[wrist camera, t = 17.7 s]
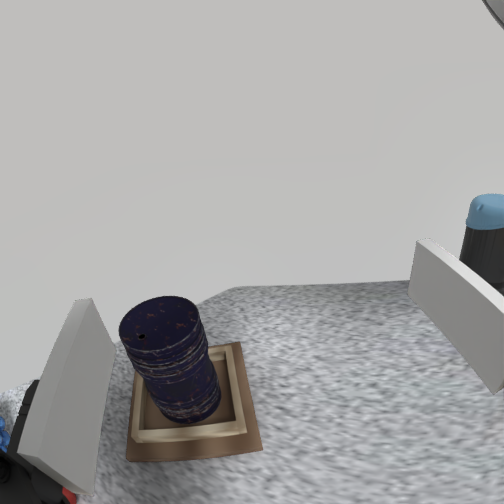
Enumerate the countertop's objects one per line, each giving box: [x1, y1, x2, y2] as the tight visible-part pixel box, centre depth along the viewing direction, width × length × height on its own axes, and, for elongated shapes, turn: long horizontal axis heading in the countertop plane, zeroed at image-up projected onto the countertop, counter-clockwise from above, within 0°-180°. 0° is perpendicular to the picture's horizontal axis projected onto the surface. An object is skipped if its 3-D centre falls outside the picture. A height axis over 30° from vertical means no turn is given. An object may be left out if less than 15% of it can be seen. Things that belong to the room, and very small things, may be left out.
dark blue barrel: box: [119, 296, 222, 424], centre depth 36 cm, size 10×10×15 cm
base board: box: [126, 342, 263, 462], centre depth 39 cm, size 18×20×3 cm
